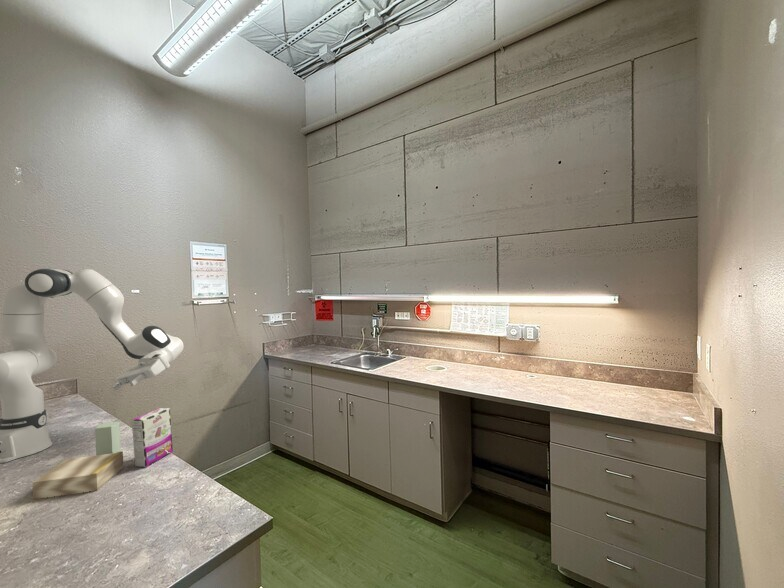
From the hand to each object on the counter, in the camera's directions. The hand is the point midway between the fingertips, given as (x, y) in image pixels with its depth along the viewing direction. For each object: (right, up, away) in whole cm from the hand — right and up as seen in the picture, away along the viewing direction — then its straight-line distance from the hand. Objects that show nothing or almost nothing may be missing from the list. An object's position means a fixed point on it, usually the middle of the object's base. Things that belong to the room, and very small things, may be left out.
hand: (122, 386), depth 130 cm
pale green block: (+1, -24, -7) cm, 25 cm away
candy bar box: (+19, -23, -10) cm, 32 cm away
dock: (+5, -24, -23) cm, 34 cm away
